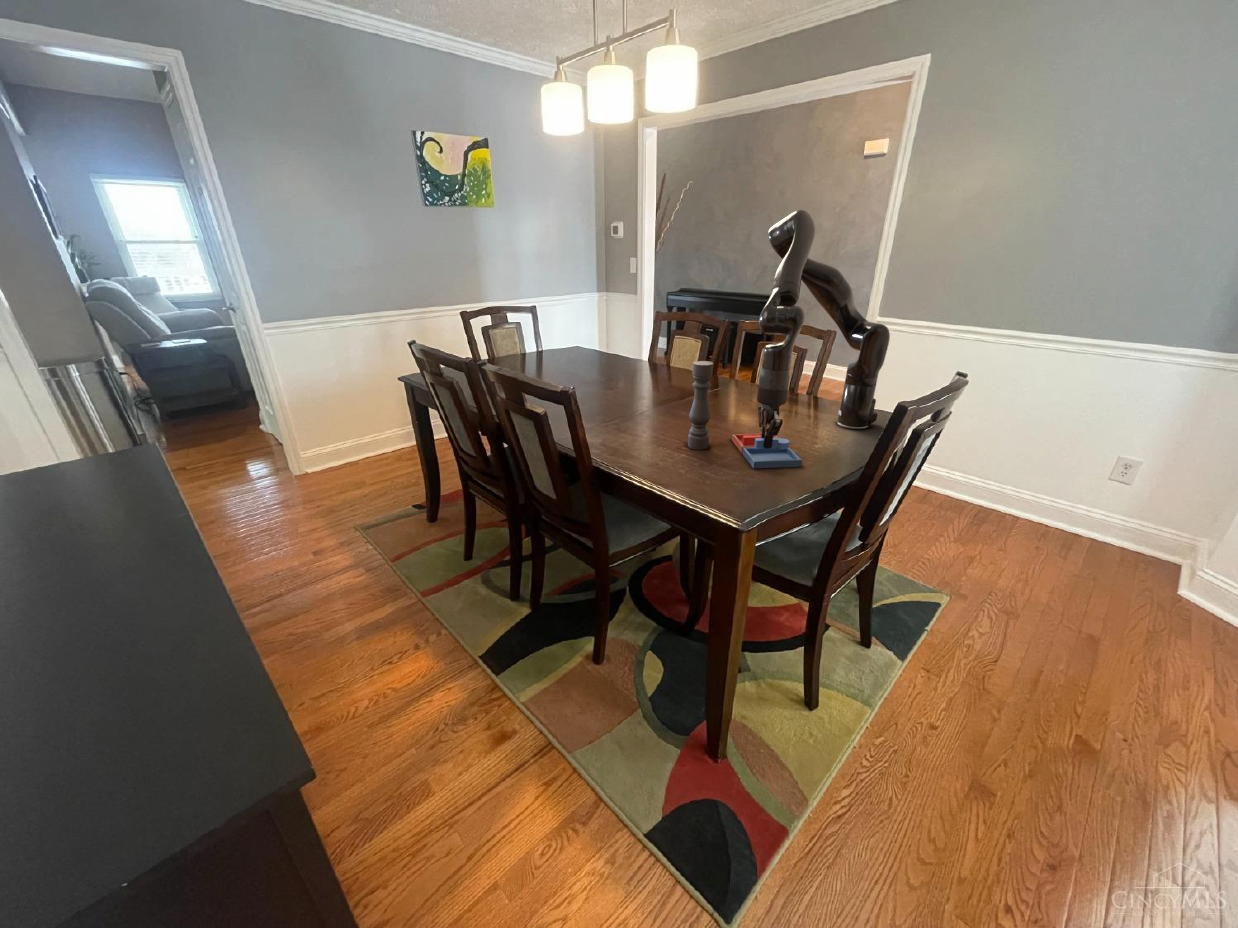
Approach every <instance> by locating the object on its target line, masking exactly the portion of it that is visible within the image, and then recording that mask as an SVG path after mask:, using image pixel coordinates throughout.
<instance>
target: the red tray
mask: <svg viewBox="0 0 1238 928" xmlns="http://www.w3.org/2000/svg"><path fill="white" fill-rule="evenodd" d="M761 434H762V433H737V434H734V433H733V434H732V437H731V441H732V443H733V444H734V445H735V447H736V448H737V449H738V450H739V452H740V453H741V454H742V453H743V448H749V447H754V445H749V446H743V444H742V438H743V436H747V435H761ZM773 437H776V438H777V439H780V437H779V436H778V435H777V436H773Z"/></svg>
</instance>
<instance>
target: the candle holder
mask: <svg viewBox="0 0 1238 928" xmlns="http://www.w3.org/2000/svg"><path fill="white" fill-rule="evenodd" d="M713 366H714V363H713V362H712V361H708V360H697V361H693V362H692V372H691V373H692V378H693V380H694V381H693V382H692V387H693V389H694V392H693V393H694V395H693V401H692V404H691V408H690V411H689V415H688V417H689V421H690V422H691V427H690V428H689V431H688V432H689V433H688V435H687V447H688V448H689V449H692V450H699V451H701V450H706V449H708V448H709V443H710V442H709V441H710V440H709V439H710V435H709V429H708V427H707V426H708V423H709V422H710V419H711V412H710V407H709V401H708V400H709V399H708V395H709V389H710V388H711V386H712V384H711V383H710V380H711V378H712V375H713V369H714V367H713Z"/></svg>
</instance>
